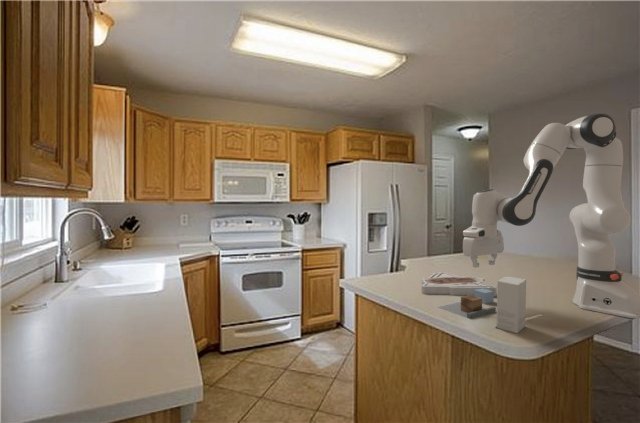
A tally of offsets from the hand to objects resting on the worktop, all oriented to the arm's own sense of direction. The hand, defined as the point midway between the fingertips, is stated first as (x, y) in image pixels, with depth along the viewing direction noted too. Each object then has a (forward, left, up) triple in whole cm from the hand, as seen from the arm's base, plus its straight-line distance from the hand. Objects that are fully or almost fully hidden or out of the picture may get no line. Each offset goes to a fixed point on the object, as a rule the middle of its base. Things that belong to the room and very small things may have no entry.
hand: (483, 265), depth 134 cm
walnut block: (-5, +14, -14) cm, 21 cm away
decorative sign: (+23, -8, -15) cm, 29 cm away
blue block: (0, 0, -15) cm, 15 cm away
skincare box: (-21, +15, -15) cm, 30 cm away
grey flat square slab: (-3, +14, -15) cm, 21 cm away
